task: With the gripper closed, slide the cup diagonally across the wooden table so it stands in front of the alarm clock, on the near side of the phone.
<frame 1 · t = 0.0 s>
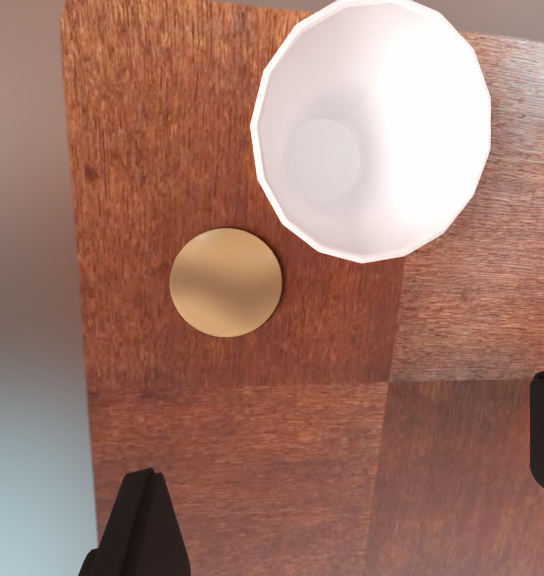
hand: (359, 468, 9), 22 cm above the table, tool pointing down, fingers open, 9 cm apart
coaster: (227, 283, 30), on the table
cup: (318, 163, 29), on the table
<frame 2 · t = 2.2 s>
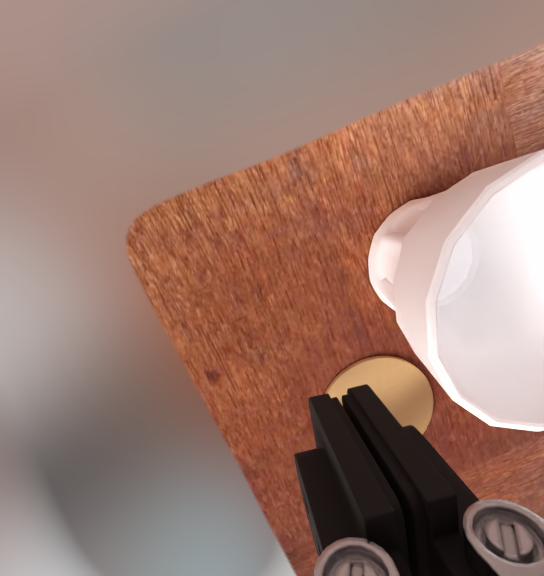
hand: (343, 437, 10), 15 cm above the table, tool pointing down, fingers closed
coaster: (376, 409, 28), on the table
cup: (423, 257, 26), on the table
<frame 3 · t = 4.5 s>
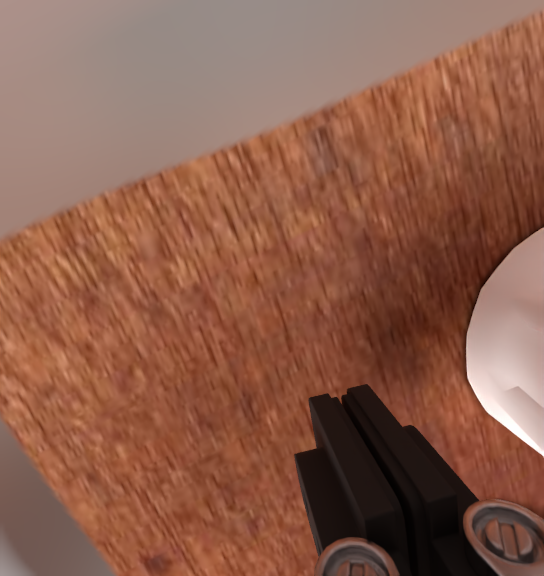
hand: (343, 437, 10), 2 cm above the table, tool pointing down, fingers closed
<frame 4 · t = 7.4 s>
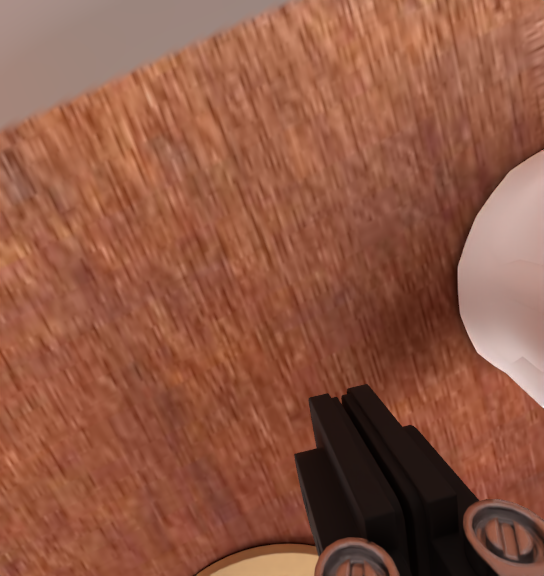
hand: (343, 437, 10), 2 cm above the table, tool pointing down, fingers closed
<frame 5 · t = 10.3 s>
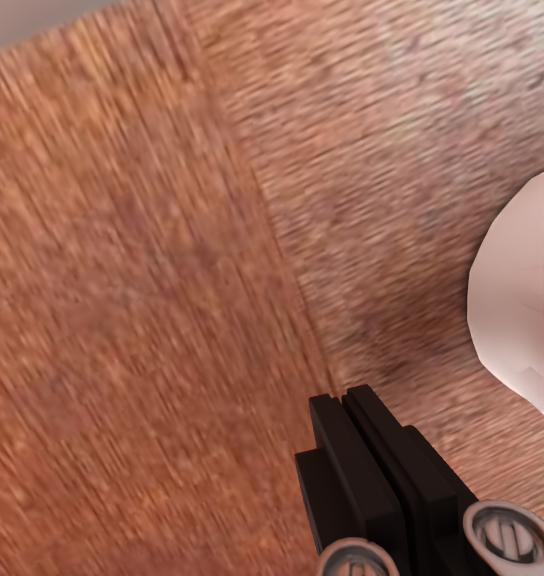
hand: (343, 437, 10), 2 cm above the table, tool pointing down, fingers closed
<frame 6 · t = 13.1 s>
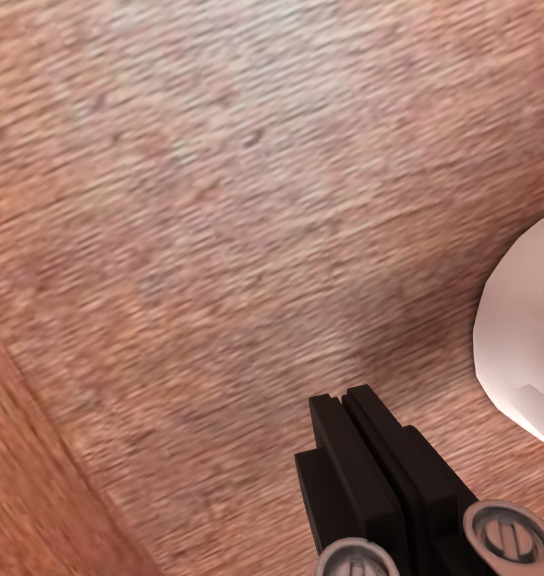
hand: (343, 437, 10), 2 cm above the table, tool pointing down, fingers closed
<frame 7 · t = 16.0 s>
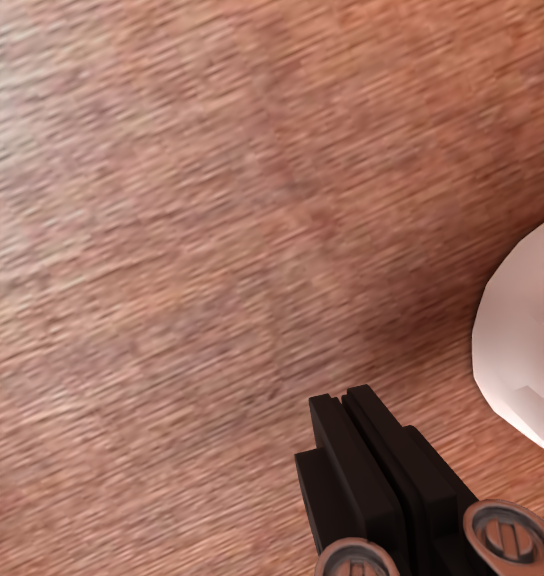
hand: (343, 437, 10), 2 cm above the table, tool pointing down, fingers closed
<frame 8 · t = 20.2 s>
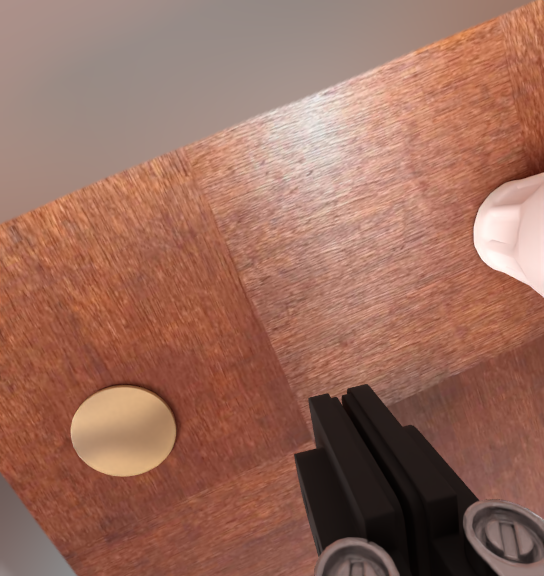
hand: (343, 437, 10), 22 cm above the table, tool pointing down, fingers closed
coaster: (125, 430, 33), on the table
cup: (513, 226, 34), on the table
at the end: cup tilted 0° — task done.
